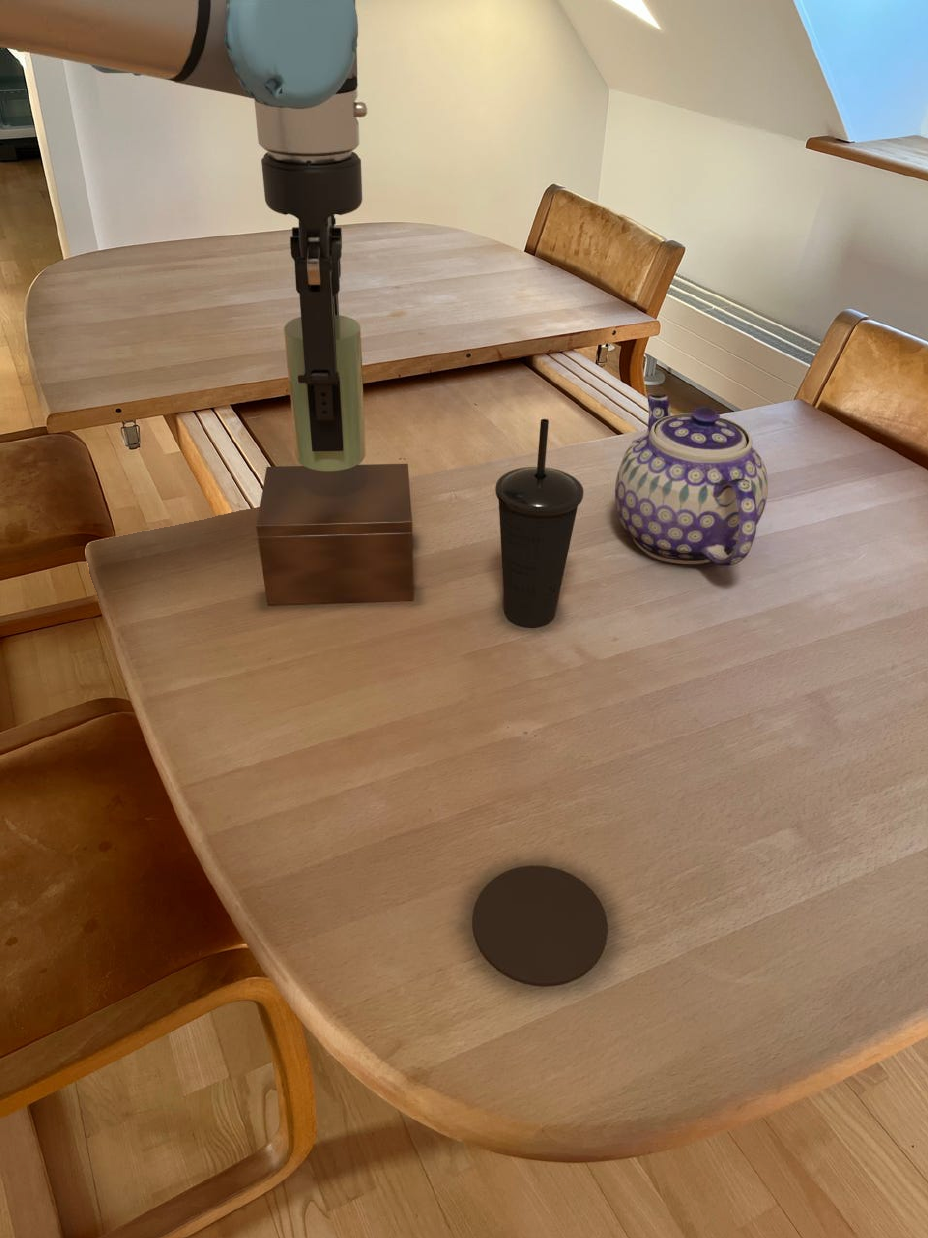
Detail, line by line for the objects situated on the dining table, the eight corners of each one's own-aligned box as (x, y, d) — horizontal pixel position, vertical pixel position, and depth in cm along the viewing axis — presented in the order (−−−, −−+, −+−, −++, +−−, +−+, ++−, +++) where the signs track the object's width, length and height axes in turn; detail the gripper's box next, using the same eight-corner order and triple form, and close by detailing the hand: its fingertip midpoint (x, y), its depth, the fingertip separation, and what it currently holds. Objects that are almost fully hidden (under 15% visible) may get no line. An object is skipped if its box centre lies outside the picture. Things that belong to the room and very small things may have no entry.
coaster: (479, 991, 59) (479, 987, 58) (466, 872, 66) (467, 868, 65) (620, 981, 59) (621, 978, 59) (593, 865, 66) (593, 861, 66)
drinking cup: (491, 637, 86) (501, 441, 74) (487, 588, 92) (496, 400, 80) (573, 637, 87) (597, 442, 74) (564, 589, 93) (585, 400, 80)
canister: (293, 472, 83) (281, 341, 76) (297, 439, 88) (286, 313, 81) (365, 471, 84) (360, 340, 77) (365, 438, 89) (360, 313, 82)
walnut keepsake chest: (267, 605, 90) (256, 525, 84) (275, 542, 98) (266, 466, 93) (413, 600, 91) (412, 521, 85) (409, 538, 99) (407, 463, 94)
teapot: (798, 603, 92) (839, 466, 82) (648, 615, 89) (672, 477, 80) (706, 477, 111) (731, 355, 102) (581, 484, 109) (595, 361, 100)
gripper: (359, 182, 63) (371, 483, 77) (361, 127, 79) (370, 386, 93) (247, 181, 63) (279, 484, 77) (270, 125, 78) (293, 386, 92)
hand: (329, 430), depth 85 cm, fingers closed on canister, 6 cm apart
